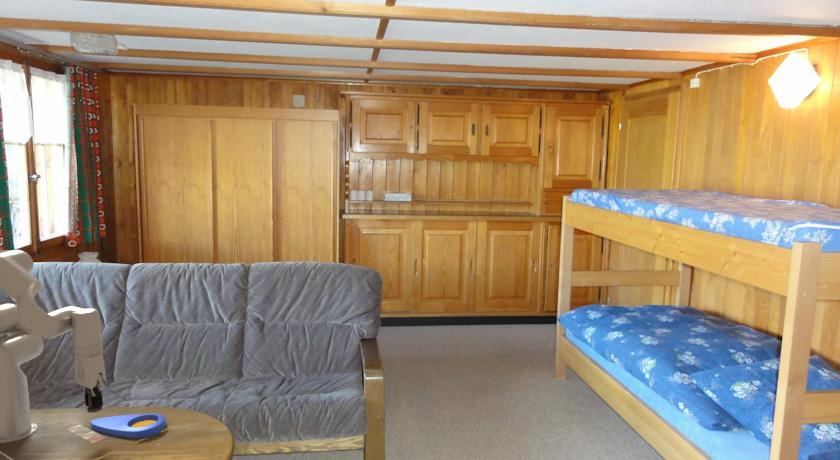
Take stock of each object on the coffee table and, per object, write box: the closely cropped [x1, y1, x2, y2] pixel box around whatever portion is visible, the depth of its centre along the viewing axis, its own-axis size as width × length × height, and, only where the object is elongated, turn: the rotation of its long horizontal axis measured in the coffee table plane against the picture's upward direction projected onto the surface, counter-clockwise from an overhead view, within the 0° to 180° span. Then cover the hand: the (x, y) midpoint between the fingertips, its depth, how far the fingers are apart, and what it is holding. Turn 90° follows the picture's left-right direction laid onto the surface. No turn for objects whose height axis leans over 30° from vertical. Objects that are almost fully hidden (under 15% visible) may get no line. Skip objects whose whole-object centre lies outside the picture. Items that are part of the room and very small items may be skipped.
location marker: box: [89, 412, 167, 439], centre depth 194 cm, size 13×3×25 cm
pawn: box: [86, 387, 103, 414], centre depth 185 cm, size 4×4×8 cm
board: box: [66, 424, 107, 444], centre depth 190 cm, size 17×5×1 cm, turn 56°
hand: (94, 405), depth 185 cm, fingers closed on pawn, 3 cm apart
